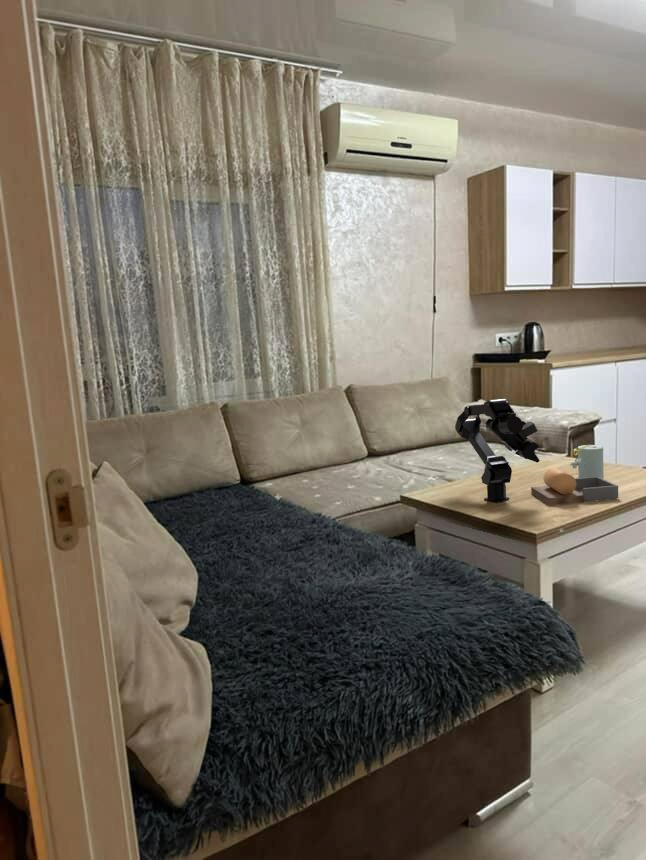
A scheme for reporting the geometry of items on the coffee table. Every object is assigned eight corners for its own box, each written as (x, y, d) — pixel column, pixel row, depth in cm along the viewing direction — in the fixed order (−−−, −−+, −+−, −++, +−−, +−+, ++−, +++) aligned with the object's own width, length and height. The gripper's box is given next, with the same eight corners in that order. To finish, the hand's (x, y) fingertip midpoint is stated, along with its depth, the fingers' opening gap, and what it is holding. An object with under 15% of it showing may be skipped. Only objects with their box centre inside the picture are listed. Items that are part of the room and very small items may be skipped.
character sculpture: (582, 473, 245) (581, 440, 243) (612, 476, 237) (611, 442, 235) (561, 484, 231) (561, 449, 229) (593, 488, 223) (592, 451, 221)
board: (548, 505, 206) (548, 498, 205) (531, 493, 222) (531, 487, 221) (584, 502, 206) (584, 495, 206) (564, 491, 222) (563, 484, 221)
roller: (576, 494, 208) (576, 473, 207) (556, 495, 208) (556, 475, 207) (562, 486, 219) (562, 467, 218) (543, 487, 219) (543, 468, 218)
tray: (584, 501, 207) (583, 488, 206) (565, 491, 221) (565, 479, 220) (618, 498, 207) (618, 485, 206) (597, 488, 221) (597, 476, 221)
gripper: (531, 418, 200) (565, 448, 202) (512, 411, 218) (543, 439, 220) (508, 443, 201) (542, 473, 203) (491, 435, 219) (522, 462, 221)
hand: (538, 461), depth 212 cm, fingers closed
